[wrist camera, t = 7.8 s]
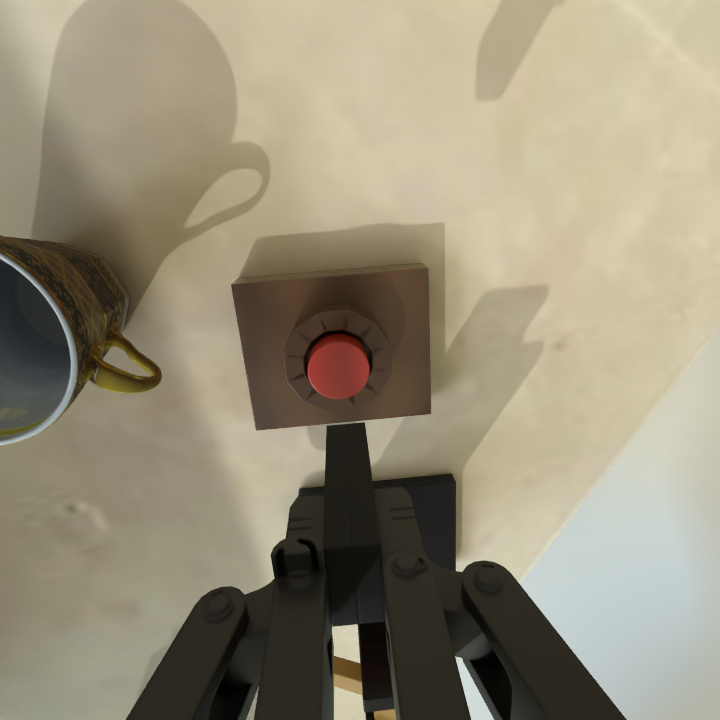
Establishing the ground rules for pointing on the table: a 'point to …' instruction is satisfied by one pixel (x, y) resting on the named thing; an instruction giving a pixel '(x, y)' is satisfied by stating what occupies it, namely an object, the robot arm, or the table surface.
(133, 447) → the table surface
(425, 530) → the switch bracket
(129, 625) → the table surface
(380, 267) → the button block
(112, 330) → the ceramic cup
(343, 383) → the button
